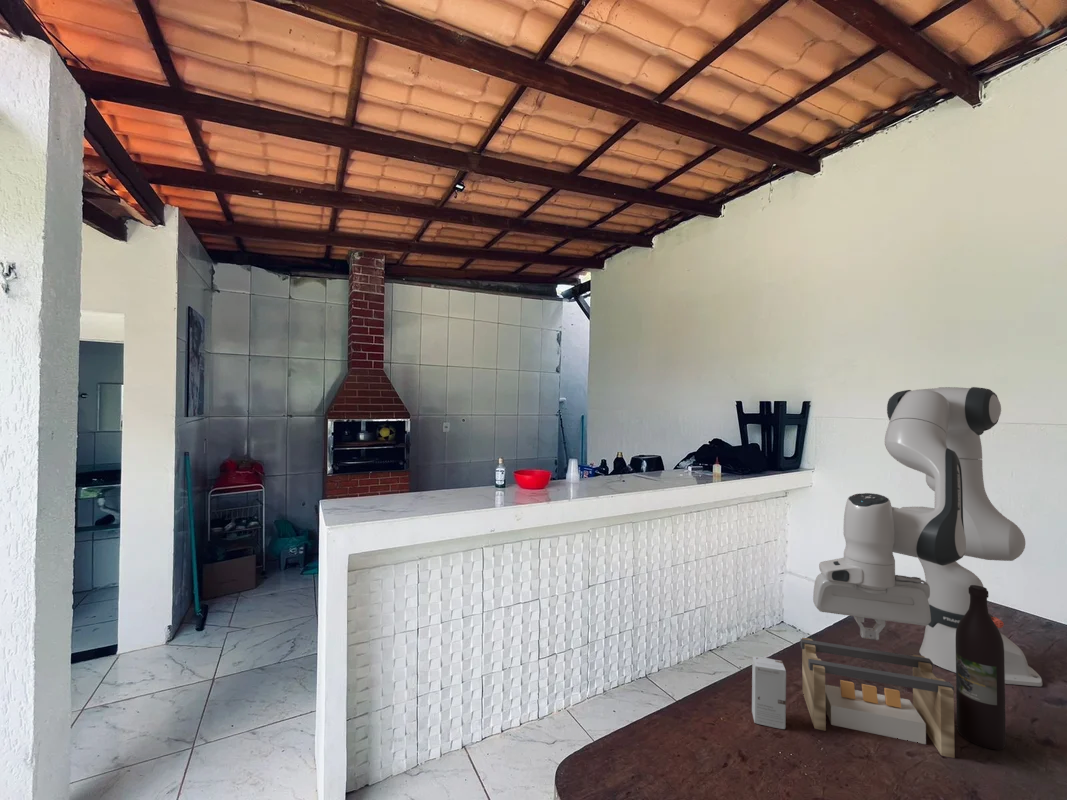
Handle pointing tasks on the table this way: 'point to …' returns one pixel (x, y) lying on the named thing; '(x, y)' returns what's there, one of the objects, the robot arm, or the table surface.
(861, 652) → the long charcoal square rod
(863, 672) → the grey bar
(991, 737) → the wine bottle
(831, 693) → the breaker strip
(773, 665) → the skincare box
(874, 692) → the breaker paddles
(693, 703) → the table surface
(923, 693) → the rack
